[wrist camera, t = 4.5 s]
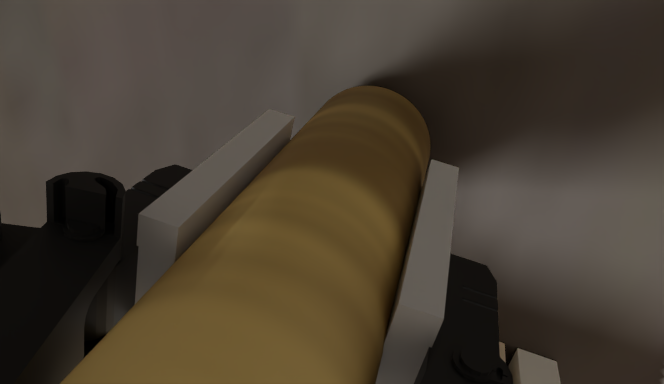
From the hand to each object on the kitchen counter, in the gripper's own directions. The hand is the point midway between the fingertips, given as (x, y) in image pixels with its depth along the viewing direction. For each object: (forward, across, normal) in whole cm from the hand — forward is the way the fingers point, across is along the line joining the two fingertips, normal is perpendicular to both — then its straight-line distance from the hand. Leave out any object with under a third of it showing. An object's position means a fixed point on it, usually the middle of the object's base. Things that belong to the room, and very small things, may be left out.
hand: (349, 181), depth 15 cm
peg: (+3, 0, 0) cm, 3 cm away
